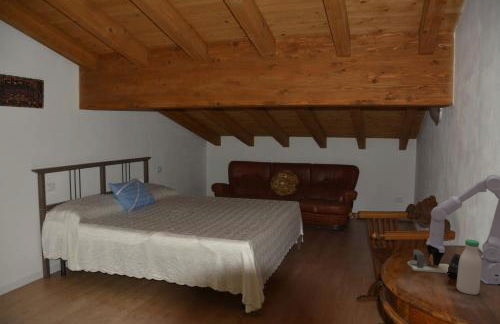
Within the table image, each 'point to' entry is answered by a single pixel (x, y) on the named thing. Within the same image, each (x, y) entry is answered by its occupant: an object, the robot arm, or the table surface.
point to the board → (431, 268)
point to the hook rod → (425, 262)
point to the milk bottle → (469, 269)
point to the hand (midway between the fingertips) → (434, 263)
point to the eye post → (418, 258)
